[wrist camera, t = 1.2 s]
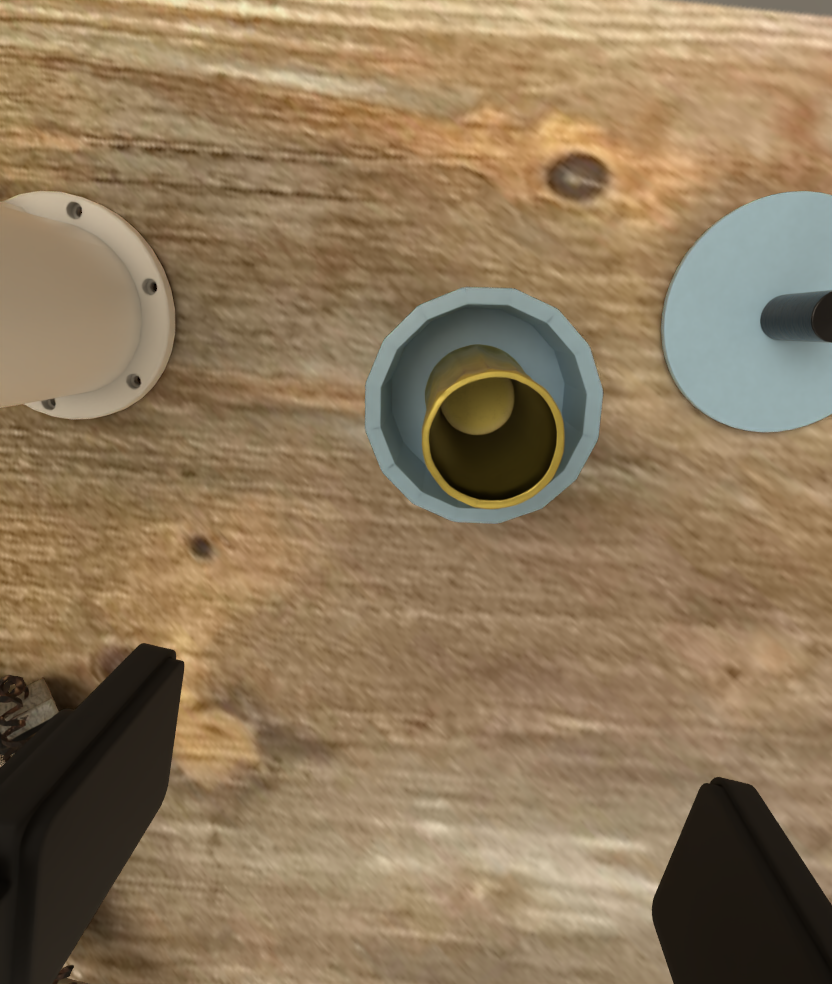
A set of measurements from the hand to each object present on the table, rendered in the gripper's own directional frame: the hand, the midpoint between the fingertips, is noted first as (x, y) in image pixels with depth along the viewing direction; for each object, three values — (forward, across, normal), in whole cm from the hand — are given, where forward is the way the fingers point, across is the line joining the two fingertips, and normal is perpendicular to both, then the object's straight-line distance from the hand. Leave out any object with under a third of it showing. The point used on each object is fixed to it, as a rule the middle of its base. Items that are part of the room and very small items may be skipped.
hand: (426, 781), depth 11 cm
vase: (+28, -1, -4) cm, 28 cm away
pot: (+28, -1, -4) cm, 28 cm away
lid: (+27, -16, -12) cm, 34 cm away
